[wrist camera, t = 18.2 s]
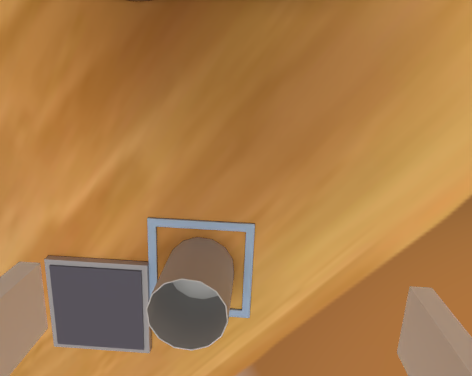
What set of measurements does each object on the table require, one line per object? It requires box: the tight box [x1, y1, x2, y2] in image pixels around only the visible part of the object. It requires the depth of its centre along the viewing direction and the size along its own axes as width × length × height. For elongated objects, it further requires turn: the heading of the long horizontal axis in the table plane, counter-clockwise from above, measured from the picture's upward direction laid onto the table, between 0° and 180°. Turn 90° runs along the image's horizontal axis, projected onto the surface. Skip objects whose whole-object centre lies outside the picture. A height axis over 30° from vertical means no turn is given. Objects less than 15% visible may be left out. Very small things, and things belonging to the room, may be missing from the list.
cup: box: [146, 237, 234, 350], centre depth 44 cm, size 8×8×10 cm
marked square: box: [147, 217, 255, 318], centre depth 49 cm, size 13×13×1 cm
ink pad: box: [44, 256, 152, 353], centre depth 51 cm, size 13×13×1 cm
